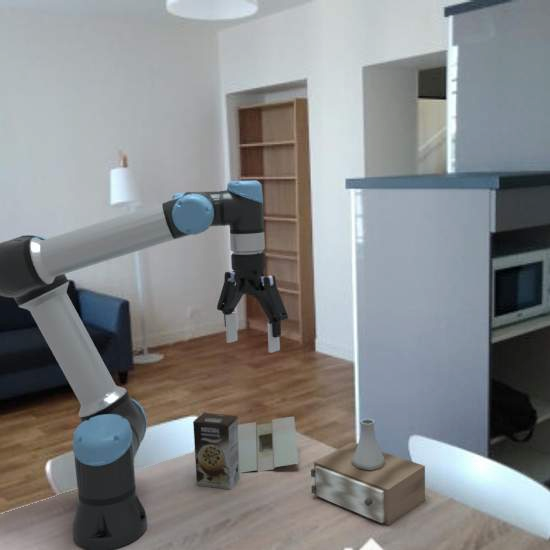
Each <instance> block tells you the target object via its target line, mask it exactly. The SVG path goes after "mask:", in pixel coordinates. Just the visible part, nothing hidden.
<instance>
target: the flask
mask: <svg viewBox="0 0 550 550" xmlns="http://www.w3.org/2000/svg"><path fill="white" fill-rule="evenodd" d="M359 423H360V424H359V425H360V426H361V427H360V428H361V431H360V437H359V440H358V442H357V444H358V445H357V448H356V451H355V454H354V456H353V459H352V462H351V463H352V464H353V465H354V466H356V467H357V468H360V469H365V470H374V469H378V468H381V467H382V466H383V465H384V464H385V463H386V462H385V459H384V457H383V454H382V452H383V451H382V450H381V448H380V445H379V443H378V440H377V437H376V431H375V424H376V421H375V420H374V419H373V418H372V419H371V418H363V419H361V420H359Z"/></svg>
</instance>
